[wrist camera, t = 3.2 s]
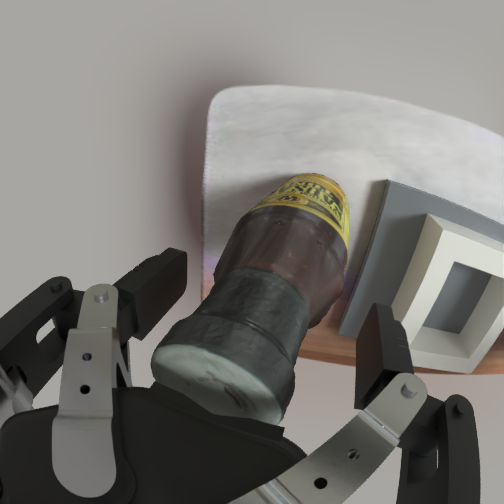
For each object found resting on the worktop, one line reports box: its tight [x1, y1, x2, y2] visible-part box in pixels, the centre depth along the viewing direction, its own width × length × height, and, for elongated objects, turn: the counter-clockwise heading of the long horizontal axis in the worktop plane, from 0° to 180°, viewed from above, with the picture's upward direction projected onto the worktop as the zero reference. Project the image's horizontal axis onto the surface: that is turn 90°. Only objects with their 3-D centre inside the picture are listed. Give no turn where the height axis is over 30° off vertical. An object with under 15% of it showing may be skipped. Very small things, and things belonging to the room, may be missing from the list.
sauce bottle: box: [151, 173, 349, 425], centre depth 15 cm, size 7×6×20 cm
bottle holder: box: [338, 179, 504, 374], centre depth 20 cm, size 20×16×6 cm
